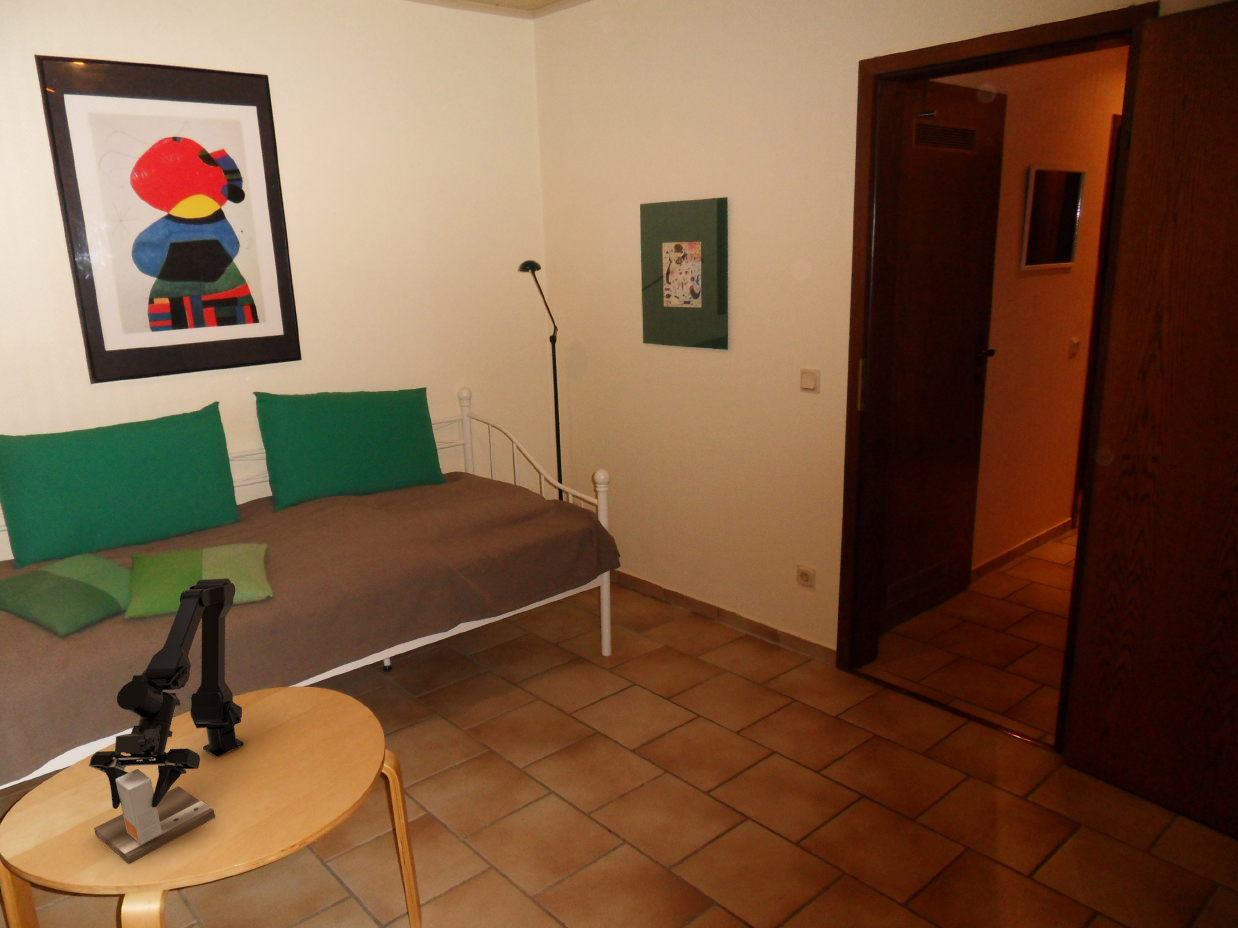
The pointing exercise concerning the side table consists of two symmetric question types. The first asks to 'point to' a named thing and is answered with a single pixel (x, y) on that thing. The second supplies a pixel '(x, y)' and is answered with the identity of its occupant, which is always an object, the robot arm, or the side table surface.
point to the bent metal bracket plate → (175, 820)
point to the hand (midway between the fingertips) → (134, 807)
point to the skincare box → (138, 806)
